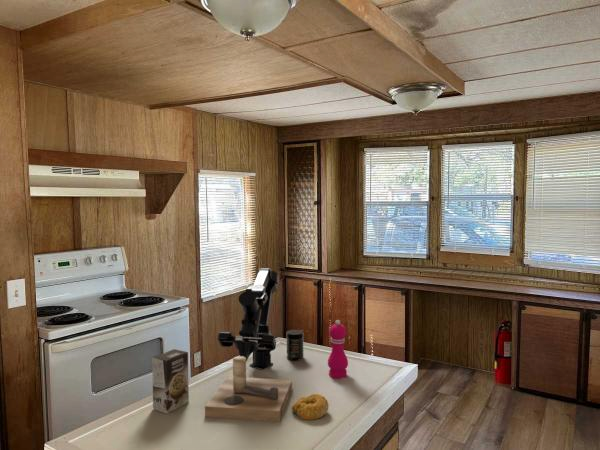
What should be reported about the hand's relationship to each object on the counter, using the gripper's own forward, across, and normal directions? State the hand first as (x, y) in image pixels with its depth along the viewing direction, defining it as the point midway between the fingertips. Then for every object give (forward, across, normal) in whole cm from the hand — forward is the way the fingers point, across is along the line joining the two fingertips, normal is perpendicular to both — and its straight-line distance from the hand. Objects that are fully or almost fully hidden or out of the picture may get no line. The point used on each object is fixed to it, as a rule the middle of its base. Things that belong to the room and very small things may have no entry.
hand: (242, 365), depth 144 cm
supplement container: (-19, -12, -33) cm, 40 cm away
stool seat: (+9, -4, -5) cm, 11 cm away
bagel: (+13, -23, -2) cm, 26 cm away
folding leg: (+8, -5, -2) cm, 10 cm away
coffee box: (+14, +20, -2) cm, 24 cm away
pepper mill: (-8, -29, -22) cm, 38 cm away
